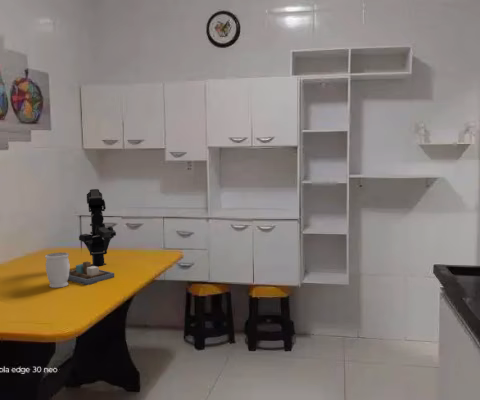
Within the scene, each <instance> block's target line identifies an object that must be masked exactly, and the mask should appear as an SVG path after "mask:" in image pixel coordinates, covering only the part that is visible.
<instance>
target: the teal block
mask: <svg viewBox="0 0 480 400" xmlns="http://www.w3.org/2000/svg"><path fill="white" fill-rule="evenodd" d="M75 270H76V272H77V273H82V274H83V263H81V264H77V265H75Z"/></svg>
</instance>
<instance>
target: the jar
mask: <svg viewBox="0 0 480 400" xmlns="http://www.w3.org/2000/svg"><path fill="white" fill-rule="evenodd" d="M69 256H70V253H69V252H54V253H52V252H51V253H48V254H45V255H44V258H45V259H46V262H45V272H46V275H47V276H46V277H47V279H48V282H49V287H50V288H52V289H57V288H58V289H59V288H65V287H67V286H68V285H69V282H68V281H69V280H68V278H69V271H71V269H70V268H71V265H70V260H69Z"/></svg>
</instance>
